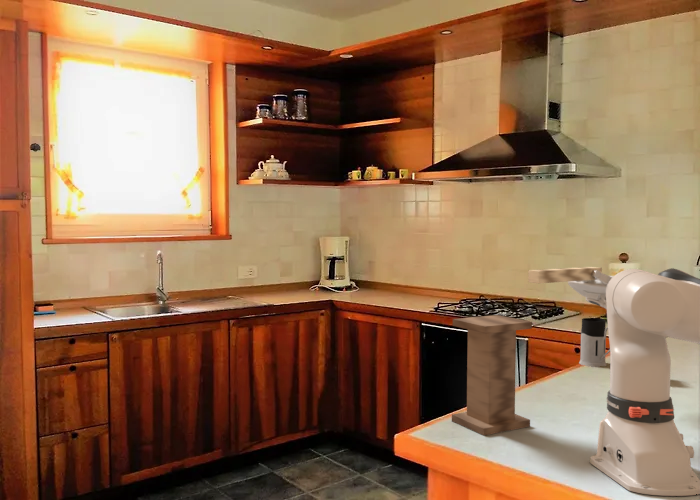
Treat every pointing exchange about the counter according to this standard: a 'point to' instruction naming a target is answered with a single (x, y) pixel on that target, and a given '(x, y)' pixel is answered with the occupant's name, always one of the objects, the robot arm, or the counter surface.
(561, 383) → the counter surface
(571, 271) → the maple bar
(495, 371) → the walnut pedestal
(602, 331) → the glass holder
